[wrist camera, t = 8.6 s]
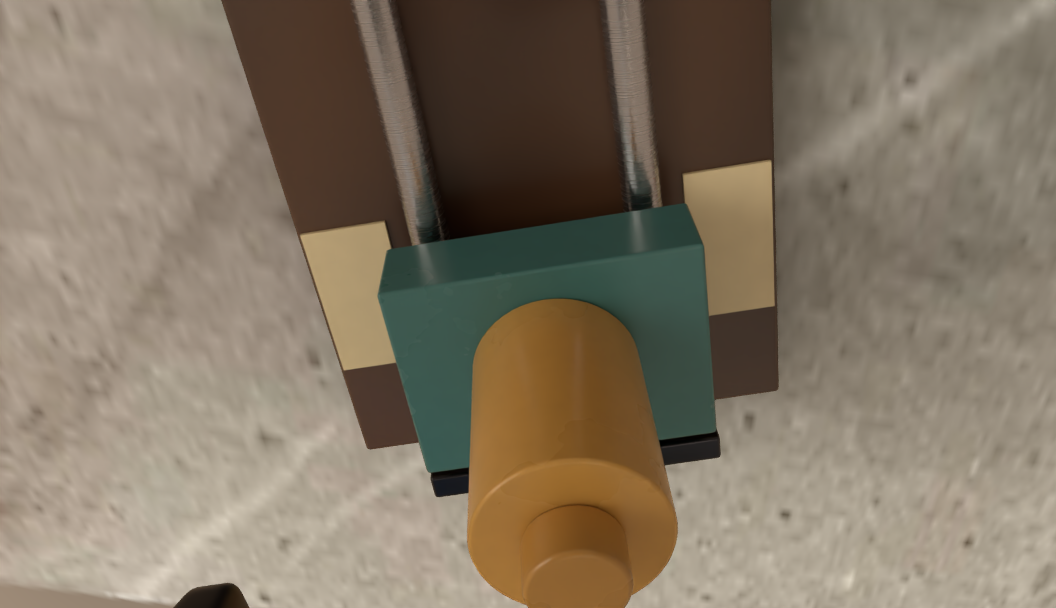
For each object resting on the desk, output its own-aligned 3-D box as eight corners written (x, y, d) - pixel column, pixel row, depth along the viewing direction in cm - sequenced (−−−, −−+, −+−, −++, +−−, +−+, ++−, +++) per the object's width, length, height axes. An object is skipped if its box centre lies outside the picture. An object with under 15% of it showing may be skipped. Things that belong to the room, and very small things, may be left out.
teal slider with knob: (687, 201, 18) (788, 445, 12) (700, 381, 20) (791, 664, 14) (385, 248, 18) (330, 510, 12) (432, 420, 21) (406, 713, 15)
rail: (751, -305, 16) (802, -313, 13) (769, 367, 23) (804, 446, 20) (173, -198, 16) (114, -185, 14) (371, 425, 23) (356, 510, 21)
